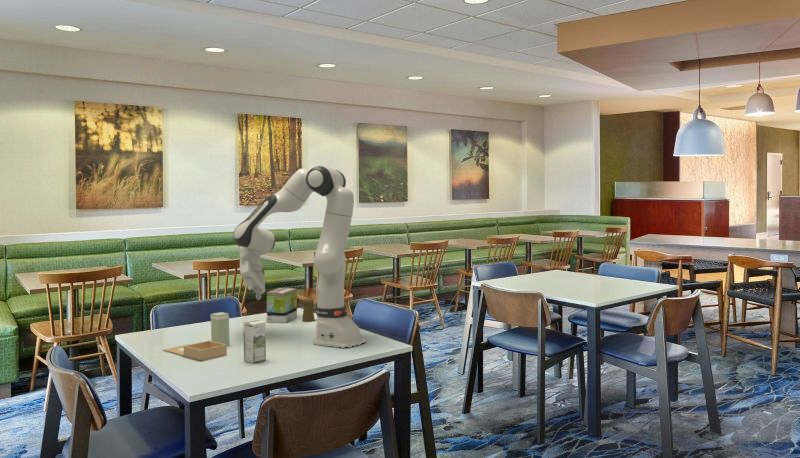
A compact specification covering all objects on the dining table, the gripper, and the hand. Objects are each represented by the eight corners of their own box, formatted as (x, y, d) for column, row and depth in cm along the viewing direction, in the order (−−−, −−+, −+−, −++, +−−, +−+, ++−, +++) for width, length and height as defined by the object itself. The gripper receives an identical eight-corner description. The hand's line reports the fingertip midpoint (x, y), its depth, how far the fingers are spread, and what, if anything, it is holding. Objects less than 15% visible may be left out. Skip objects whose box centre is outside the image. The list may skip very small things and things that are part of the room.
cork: (302, 322, 293) (302, 299, 293) (301, 320, 299) (301, 297, 299) (315, 321, 295) (315, 298, 294) (313, 319, 301) (313, 296, 300)
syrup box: (256, 357, 230) (255, 319, 229) (266, 360, 226) (265, 321, 225) (243, 361, 226) (242, 321, 225) (253, 363, 222) (252, 323, 221)
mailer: (226, 354, 234) (226, 344, 234) (200, 361, 226) (200, 350, 226) (188, 345, 251) (188, 335, 251) (163, 350, 242) (162, 340, 242)
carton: (229, 345, 250) (228, 313, 249) (218, 347, 246) (218, 315, 245) (222, 343, 253) (221, 312, 252) (211, 345, 249) (210, 314, 248)
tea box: (286, 323, 292) (285, 292, 291) (266, 322, 294) (265, 292, 293) (297, 317, 306) (297, 287, 306) (278, 316, 308) (278, 287, 308)
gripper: (249, 252, 255) (252, 281, 248) (266, 274, 273) (269, 301, 266) (234, 256, 256) (237, 285, 248) (252, 278, 273) (255, 305, 266)
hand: (254, 294), depth 257 cm, fingers open, 8 cm apart
